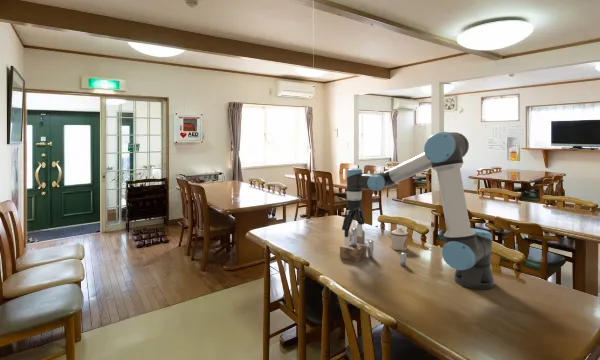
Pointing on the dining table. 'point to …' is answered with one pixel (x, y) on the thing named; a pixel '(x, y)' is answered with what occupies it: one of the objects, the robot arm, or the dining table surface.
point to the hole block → (353, 252)
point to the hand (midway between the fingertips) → (353, 239)
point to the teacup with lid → (399, 239)
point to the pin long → (354, 237)
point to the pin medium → (370, 249)
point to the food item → (359, 238)
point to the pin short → (403, 259)
